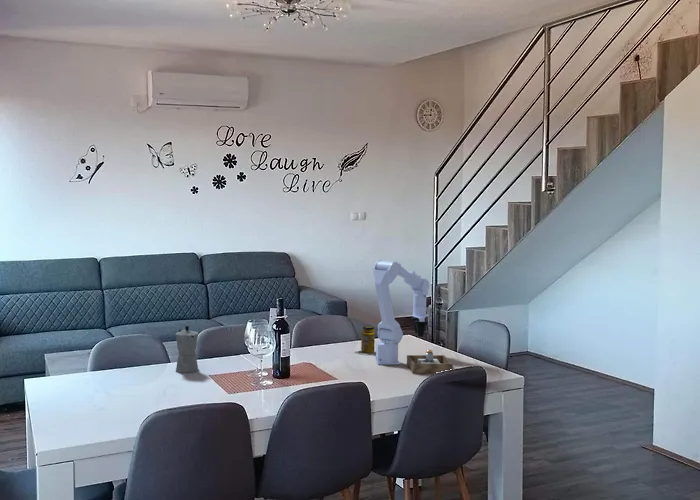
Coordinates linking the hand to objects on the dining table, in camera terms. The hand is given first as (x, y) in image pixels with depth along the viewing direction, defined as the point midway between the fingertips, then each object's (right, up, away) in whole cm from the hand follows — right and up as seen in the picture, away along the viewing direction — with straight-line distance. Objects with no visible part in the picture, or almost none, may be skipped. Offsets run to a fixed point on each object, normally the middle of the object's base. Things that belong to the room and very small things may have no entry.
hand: (418, 334), depth 316 cm
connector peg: (+2, -10, -24) cm, 26 cm away
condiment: (-24, -9, +5) cm, 26 cm away
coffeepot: (-97, -10, -33) cm, 103 cm away
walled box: (+2, -11, -24) cm, 27 cm away
